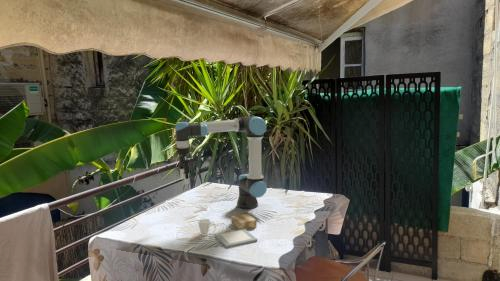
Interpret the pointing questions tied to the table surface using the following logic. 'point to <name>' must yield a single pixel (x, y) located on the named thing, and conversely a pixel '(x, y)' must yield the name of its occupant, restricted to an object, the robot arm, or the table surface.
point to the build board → (235, 238)
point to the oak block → (243, 221)
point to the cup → (205, 226)
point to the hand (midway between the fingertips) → (184, 181)
